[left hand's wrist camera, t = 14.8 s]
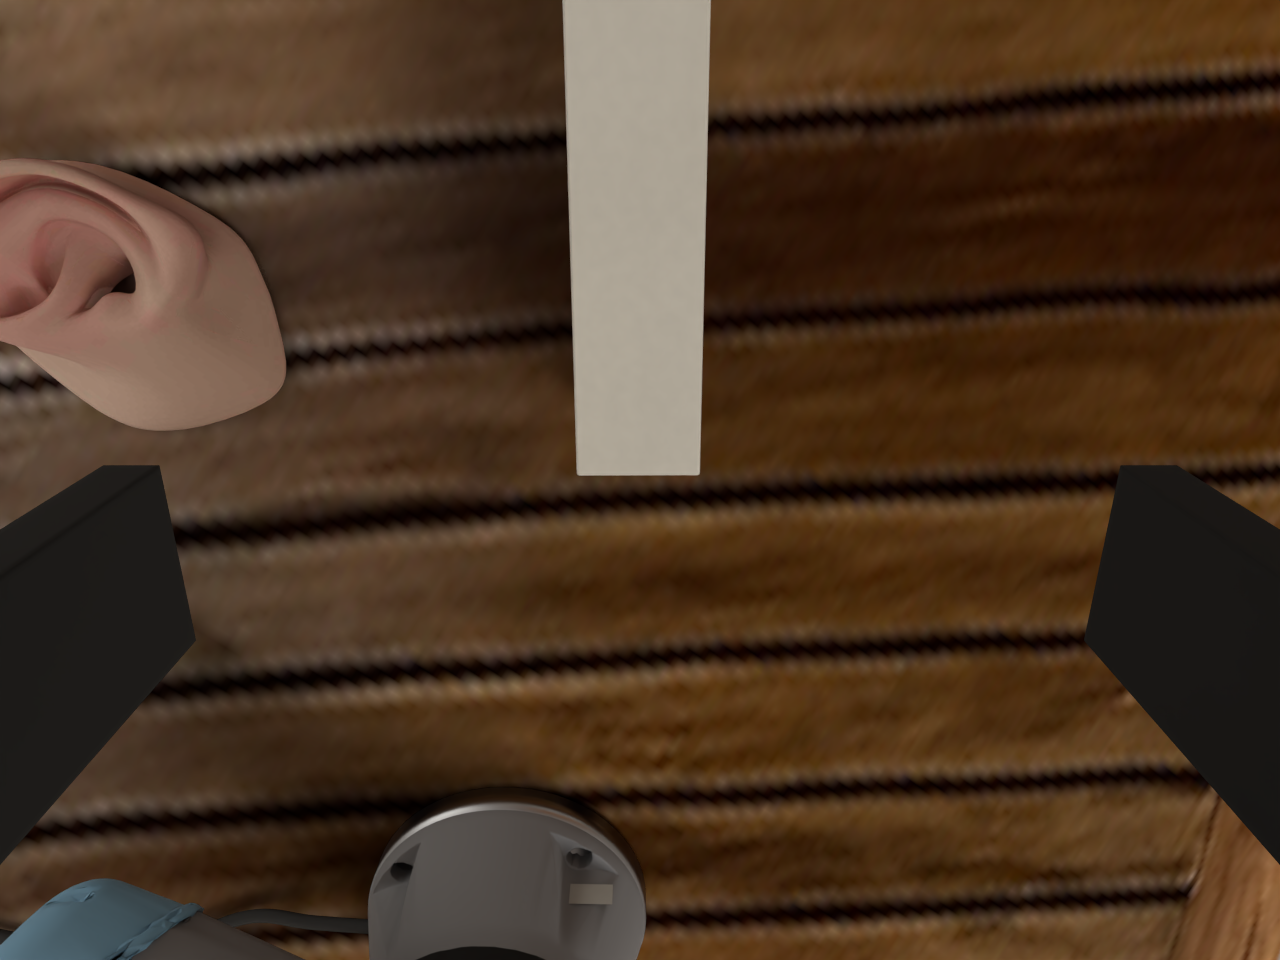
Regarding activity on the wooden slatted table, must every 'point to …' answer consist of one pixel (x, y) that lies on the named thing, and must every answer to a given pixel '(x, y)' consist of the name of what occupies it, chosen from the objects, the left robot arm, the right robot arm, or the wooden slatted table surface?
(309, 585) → the wooden slatted table surface
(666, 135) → the bar
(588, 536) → the wooden slatted table surface
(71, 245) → the anatomical model
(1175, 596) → the left robot arm
